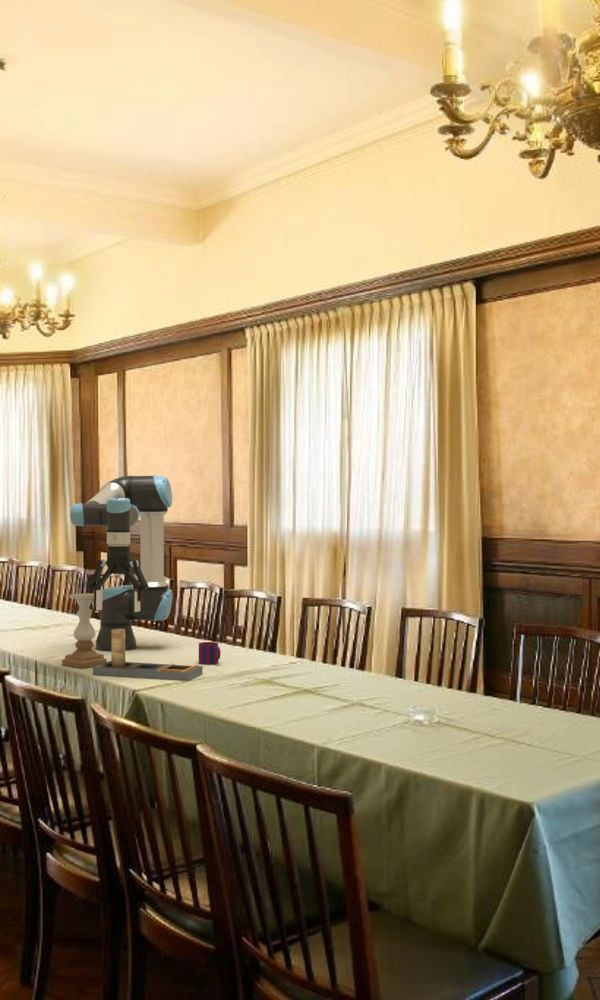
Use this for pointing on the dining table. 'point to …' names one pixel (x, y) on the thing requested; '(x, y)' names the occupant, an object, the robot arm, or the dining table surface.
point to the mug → (209, 653)
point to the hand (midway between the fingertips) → (118, 610)
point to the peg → (118, 648)
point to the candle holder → (84, 636)
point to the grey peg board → (150, 671)
